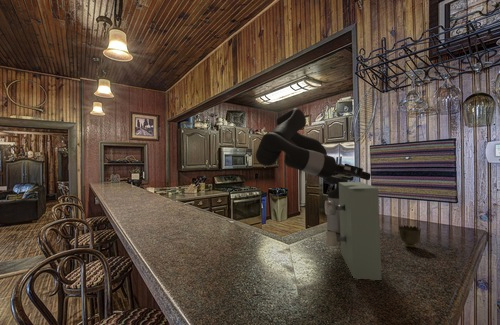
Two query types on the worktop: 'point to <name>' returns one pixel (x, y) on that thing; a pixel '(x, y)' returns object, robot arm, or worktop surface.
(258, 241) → the worktop surface
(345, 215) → the block
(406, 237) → the cup
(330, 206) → the upper knob
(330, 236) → the lower knob
